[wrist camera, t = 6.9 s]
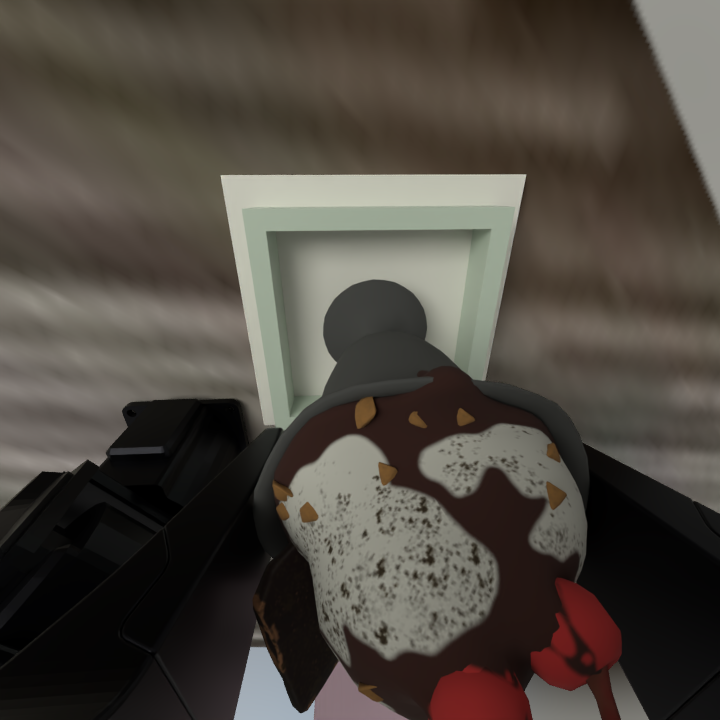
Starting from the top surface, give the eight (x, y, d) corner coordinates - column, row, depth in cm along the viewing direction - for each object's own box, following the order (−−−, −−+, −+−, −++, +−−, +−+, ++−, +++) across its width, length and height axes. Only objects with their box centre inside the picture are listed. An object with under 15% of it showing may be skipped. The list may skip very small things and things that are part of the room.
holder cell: (474, 412, 20) (491, 439, 18) (265, 420, 20) (256, 448, 18) (520, 175, 14) (553, 171, 12) (224, 176, 14) (202, 172, 12)
